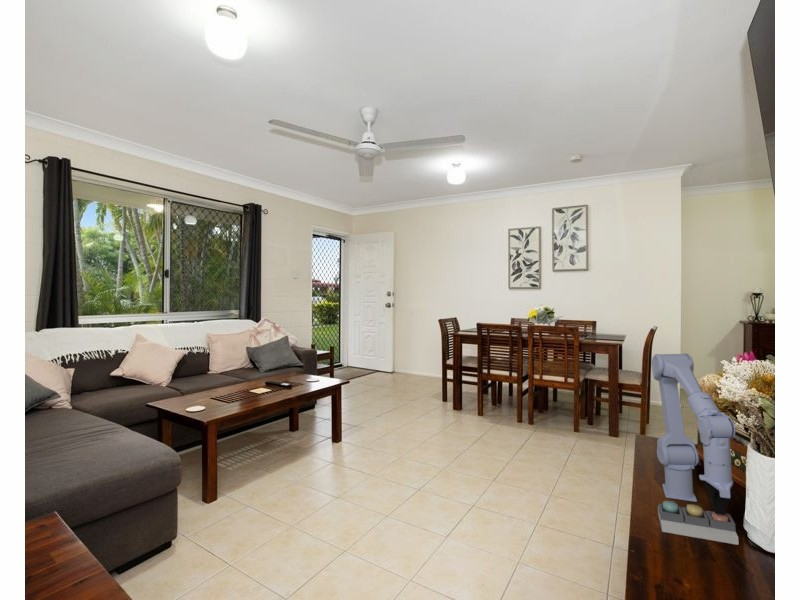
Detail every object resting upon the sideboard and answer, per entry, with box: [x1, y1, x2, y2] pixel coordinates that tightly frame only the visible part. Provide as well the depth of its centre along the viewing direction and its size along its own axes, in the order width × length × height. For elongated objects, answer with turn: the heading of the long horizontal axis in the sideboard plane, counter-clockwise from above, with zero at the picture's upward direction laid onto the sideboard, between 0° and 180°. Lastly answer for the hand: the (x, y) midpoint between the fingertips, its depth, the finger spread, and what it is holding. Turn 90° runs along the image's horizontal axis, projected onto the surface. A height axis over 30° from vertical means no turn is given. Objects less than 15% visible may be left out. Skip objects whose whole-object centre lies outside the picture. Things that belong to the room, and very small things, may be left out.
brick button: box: [712, 511, 728, 522], centre depth 109 cm, size 3×3×2 cm
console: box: [657, 503, 739, 545], centre depth 111 cm, size 10×16×4 cm, turn 64°
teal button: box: [662, 500, 679, 514], centre depth 114 cm, size 3×3×2 cm
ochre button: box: [686, 503, 703, 518], centre depth 111 cm, size 3×3×2 cm
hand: (719, 513), depth 109 cm, fingers closed
